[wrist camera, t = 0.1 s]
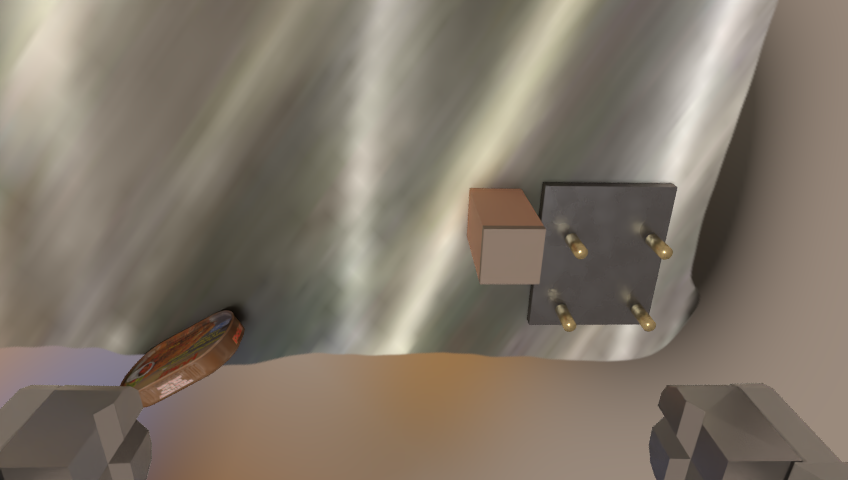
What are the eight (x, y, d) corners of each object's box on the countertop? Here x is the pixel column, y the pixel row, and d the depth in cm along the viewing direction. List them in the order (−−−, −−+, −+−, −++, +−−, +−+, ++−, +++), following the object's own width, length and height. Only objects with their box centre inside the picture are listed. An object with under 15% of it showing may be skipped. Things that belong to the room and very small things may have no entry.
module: (469, 188, 58) (483, 229, 48) (521, 188, 58) (546, 229, 48) (466, 235, 60) (479, 284, 50) (516, 236, 60) (539, 284, 50)
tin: (240, 299, 62) (217, 342, 55) (257, 319, 63) (237, 364, 56) (137, 354, 65) (101, 403, 57) (155, 373, 66) (122, 423, 58)
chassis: (542, 182, 58) (554, 197, 53) (672, 183, 58) (693, 198, 54) (526, 319, 65) (535, 342, 60) (642, 318, 65) (659, 341, 61)
